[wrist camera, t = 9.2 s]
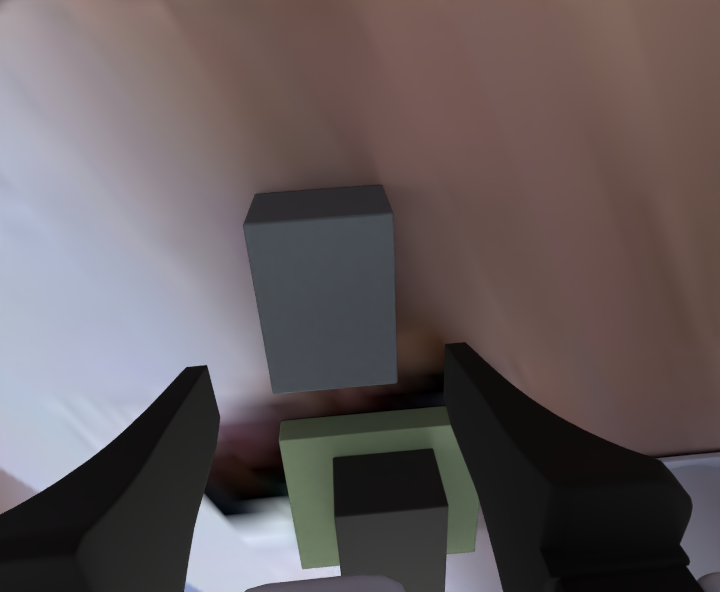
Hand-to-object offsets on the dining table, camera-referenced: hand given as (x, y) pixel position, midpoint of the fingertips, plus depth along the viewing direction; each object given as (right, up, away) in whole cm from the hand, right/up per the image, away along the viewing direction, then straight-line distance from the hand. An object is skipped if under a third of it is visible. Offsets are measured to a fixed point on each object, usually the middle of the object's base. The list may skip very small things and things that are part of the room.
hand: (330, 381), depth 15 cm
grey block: (0, +4, +6) cm, 7 cm away
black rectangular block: (+2, -8, +11) cm, 14 cm away
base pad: (+2, -8, +12) cm, 15 cm away
